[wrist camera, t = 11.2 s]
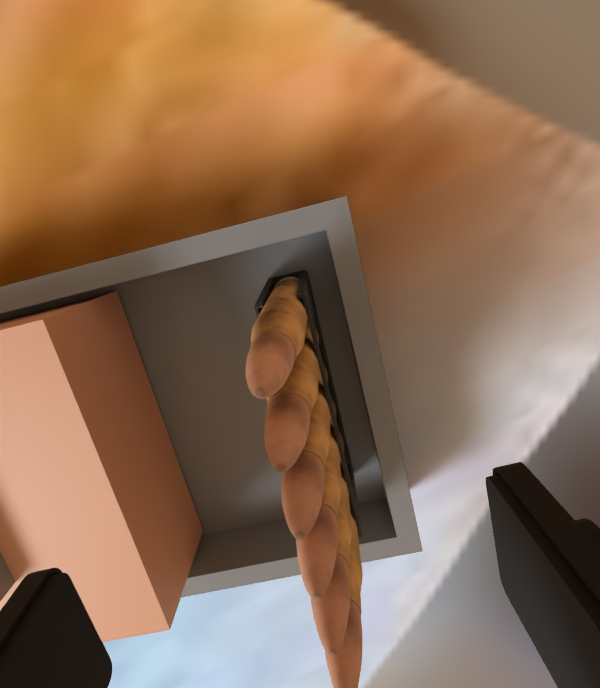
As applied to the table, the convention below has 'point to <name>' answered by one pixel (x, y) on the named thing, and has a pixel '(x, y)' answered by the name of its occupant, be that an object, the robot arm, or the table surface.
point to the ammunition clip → (311, 463)
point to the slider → (90, 468)
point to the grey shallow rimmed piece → (231, 385)
